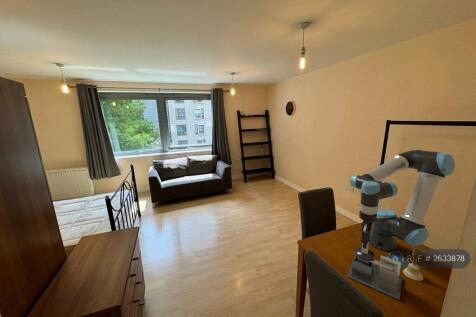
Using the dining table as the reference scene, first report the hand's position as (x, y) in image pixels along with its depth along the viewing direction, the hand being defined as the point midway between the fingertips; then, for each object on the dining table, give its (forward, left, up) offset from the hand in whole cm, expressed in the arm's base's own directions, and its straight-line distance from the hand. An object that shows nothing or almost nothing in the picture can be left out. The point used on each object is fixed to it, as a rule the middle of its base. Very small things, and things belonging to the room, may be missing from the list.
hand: (364, 252), depth 106 cm
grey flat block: (-7, +9, -3) cm, 11 cm away
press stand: (-4, +4, -13) cm, 14 cm away
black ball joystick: (-3, +3, -9) cm, 10 cm away
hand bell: (-25, +4, -13) cm, 28 cm away
